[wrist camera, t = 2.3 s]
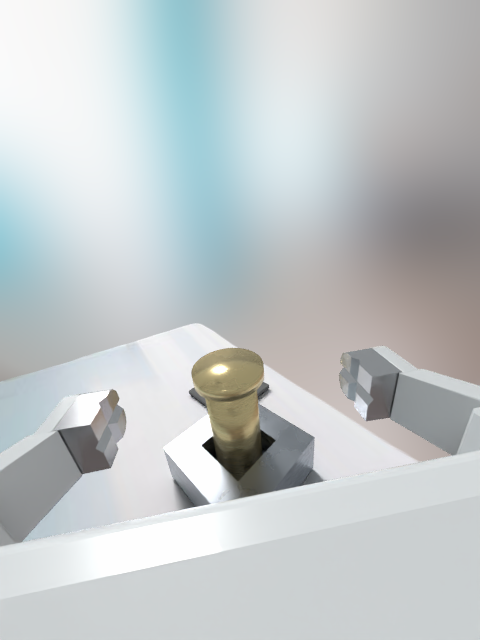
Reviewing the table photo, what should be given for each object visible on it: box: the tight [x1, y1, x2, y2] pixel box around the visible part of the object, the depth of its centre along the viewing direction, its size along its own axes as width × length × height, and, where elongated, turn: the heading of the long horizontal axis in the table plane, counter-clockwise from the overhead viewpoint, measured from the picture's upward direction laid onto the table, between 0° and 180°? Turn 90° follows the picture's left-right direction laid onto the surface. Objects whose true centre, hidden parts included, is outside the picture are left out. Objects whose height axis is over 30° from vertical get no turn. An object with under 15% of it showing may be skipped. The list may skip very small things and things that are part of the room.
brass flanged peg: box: [192, 348, 264, 481], centre depth 25 cm, size 7×7×13 cm
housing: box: [163, 404, 314, 507], centre depth 28 cm, size 12×12×5 cm
